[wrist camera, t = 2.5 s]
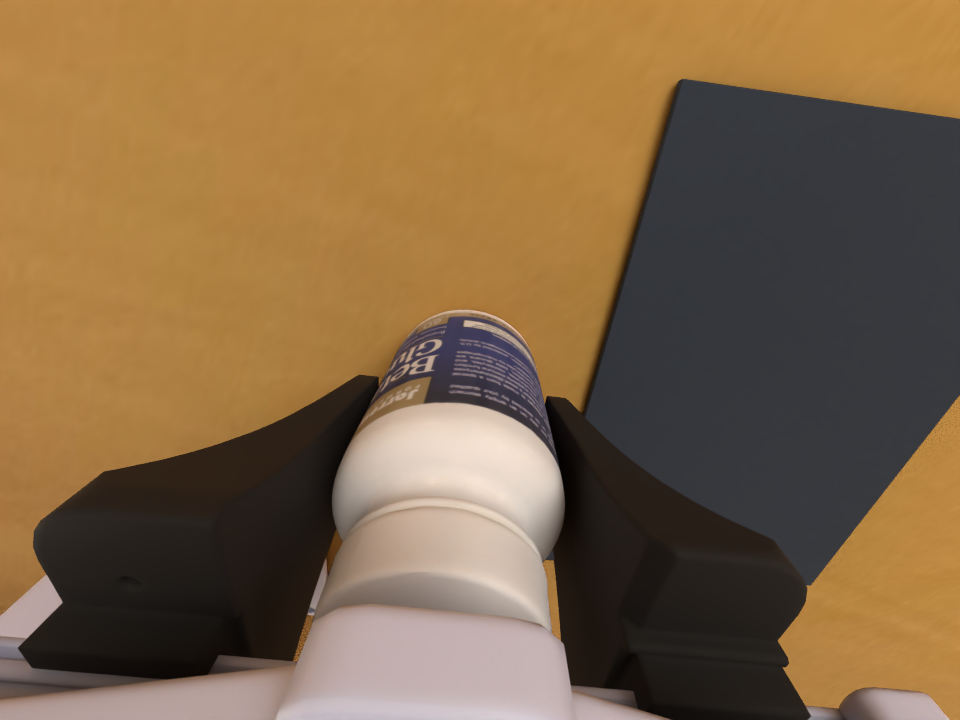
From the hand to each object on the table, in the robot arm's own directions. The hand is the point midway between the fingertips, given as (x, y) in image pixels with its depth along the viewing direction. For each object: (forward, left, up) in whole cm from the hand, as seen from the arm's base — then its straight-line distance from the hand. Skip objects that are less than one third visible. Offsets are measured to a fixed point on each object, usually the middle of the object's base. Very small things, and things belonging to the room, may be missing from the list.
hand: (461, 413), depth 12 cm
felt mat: (+12, 0, -3) cm, 12 cm away
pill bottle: (0, 0, -3) cm, 3 cm away
